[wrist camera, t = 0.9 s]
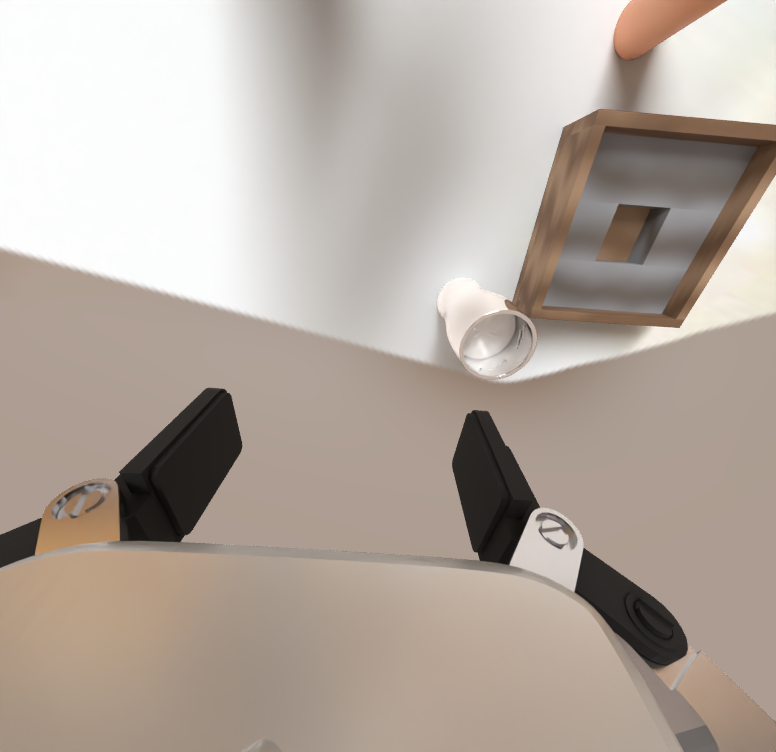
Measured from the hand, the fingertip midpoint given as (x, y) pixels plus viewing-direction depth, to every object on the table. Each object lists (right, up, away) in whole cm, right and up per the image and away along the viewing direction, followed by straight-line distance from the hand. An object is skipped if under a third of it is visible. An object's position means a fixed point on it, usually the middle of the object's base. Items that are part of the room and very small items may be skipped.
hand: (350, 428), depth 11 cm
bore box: (+28, +19, +21) cm, 40 cm away
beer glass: (+11, +12, +26) cm, 30 cm away
